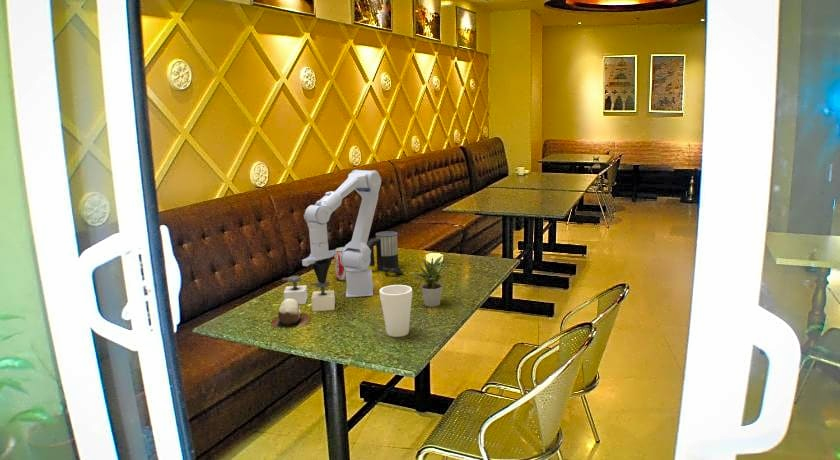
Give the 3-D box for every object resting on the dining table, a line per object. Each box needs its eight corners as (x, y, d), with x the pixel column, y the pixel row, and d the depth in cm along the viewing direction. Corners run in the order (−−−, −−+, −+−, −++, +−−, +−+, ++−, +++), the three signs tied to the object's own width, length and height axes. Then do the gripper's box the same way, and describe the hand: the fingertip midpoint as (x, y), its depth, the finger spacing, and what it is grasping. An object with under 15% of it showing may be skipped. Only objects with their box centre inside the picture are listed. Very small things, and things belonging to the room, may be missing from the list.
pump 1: (302, 287, 198) (301, 275, 197) (301, 291, 194) (300, 279, 193) (284, 289, 197) (282, 276, 197) (282, 293, 193) (281, 280, 192)
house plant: (422, 293, 199) (421, 248, 196) (459, 298, 193) (458, 251, 190) (404, 307, 187) (401, 258, 183) (442, 312, 180) (441, 262, 177)
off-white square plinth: (335, 302, 193) (334, 290, 192) (334, 309, 186) (333, 296, 185) (314, 304, 193) (313, 291, 192) (312, 311, 186) (311, 298, 185)
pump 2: (330, 293, 191) (329, 280, 190) (329, 297, 187) (328, 284, 186) (311, 294, 191) (310, 281, 190) (309, 298, 186) (308, 285, 185)
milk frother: (386, 264, 240) (385, 230, 237) (417, 269, 230) (415, 233, 227) (364, 272, 229) (362, 236, 225) (395, 278, 219) (393, 240, 216)
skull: (272, 312, 183) (292, 289, 182) (298, 332, 184) (317, 309, 183) (263, 325, 171) (283, 300, 170) (290, 346, 173) (311, 321, 171)
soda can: (350, 281, 217) (348, 251, 215) (333, 281, 219) (331, 250, 216) (356, 276, 224) (354, 246, 221) (339, 275, 225) (337, 246, 223)
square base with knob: (307, 297, 200) (306, 285, 199) (305, 304, 193) (304, 291, 192) (287, 298, 199) (286, 286, 199) (284, 305, 193) (283, 292, 192)
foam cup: (381, 327, 169) (379, 285, 167) (412, 325, 170) (410, 283, 168) (382, 340, 160) (379, 296, 158) (414, 337, 161) (413, 293, 158)
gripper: (325, 236, 193) (328, 274, 196) (293, 245, 181) (297, 286, 184) (340, 238, 189) (343, 277, 192) (310, 247, 177) (313, 289, 180)
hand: (322, 282), depth 188 cm, fingers closed
